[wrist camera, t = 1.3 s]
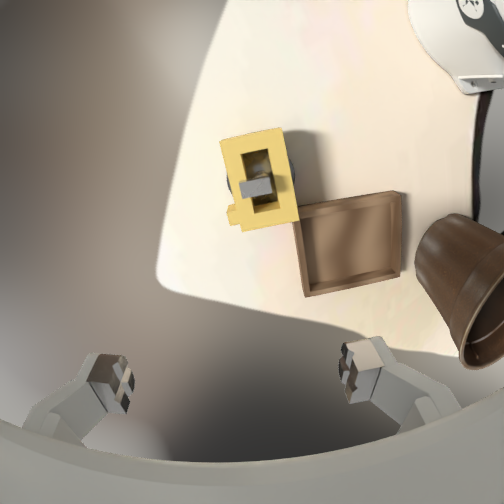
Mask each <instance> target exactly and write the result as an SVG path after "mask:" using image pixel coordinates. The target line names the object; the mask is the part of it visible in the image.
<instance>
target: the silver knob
mask: <svg viewBox="0 0 504 504" xmlns="http://www.w3.org/2000/svg"><path fill="white" fill-rule="evenodd" d="M242 157H243V161H244V165H245V169H246V173H247V178H248V179H246V180H241V181H239V187H240V191H241V196H242V199H245V198H250V197H252V199H253V203H254V206H257V205H262V204H267V203H271V202H276V201H278V197H277V192H276V187H275V183H274V178H273V173H272V168H271V164H270V159H269V154H268V150H267V148H266V149H261V150H257V151H252V152H247V153H243V154H242ZM288 161H289V166H290V171H291V177H292V182H293V186H294V181H295V172H294V168H293V165H292V163H291V161H290V159H289V158H288ZM227 184H228V187H229V190H230V192H231V194H232V190H231V186H230V182H229V178H228V174H227ZM232 195H233V194H232Z"/></svg>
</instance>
